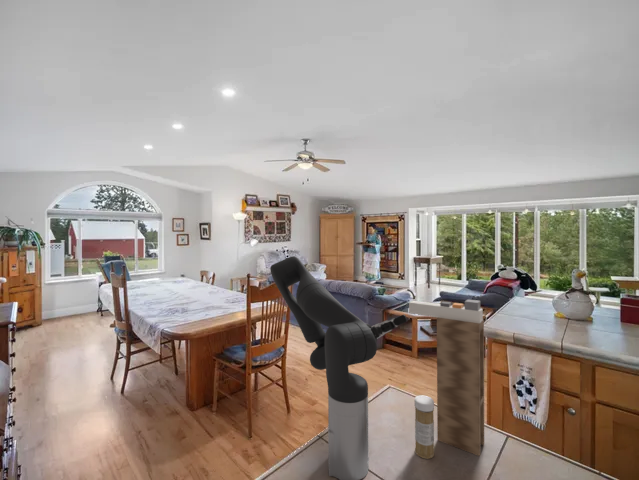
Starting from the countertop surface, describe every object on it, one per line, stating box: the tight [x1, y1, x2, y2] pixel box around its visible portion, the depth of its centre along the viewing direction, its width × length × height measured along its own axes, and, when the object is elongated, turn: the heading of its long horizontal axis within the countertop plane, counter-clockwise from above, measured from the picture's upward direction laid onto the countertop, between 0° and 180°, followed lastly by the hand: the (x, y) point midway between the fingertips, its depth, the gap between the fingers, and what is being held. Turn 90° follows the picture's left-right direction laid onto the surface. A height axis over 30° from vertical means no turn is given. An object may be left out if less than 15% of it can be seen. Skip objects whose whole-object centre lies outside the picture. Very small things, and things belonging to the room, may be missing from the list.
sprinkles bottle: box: [414, 394, 435, 460], centre depth 77 cm, size 5×5×14 cm
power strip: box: [408, 299, 484, 323], centre depth 83 cm, size 18×4×5 cm, turn 52°
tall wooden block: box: [436, 317, 485, 457], centre depth 81 cm, size 10×6×32 cm, turn 52°
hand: (400, 320), depth 91 cm, fingers open, 8 cm apart
